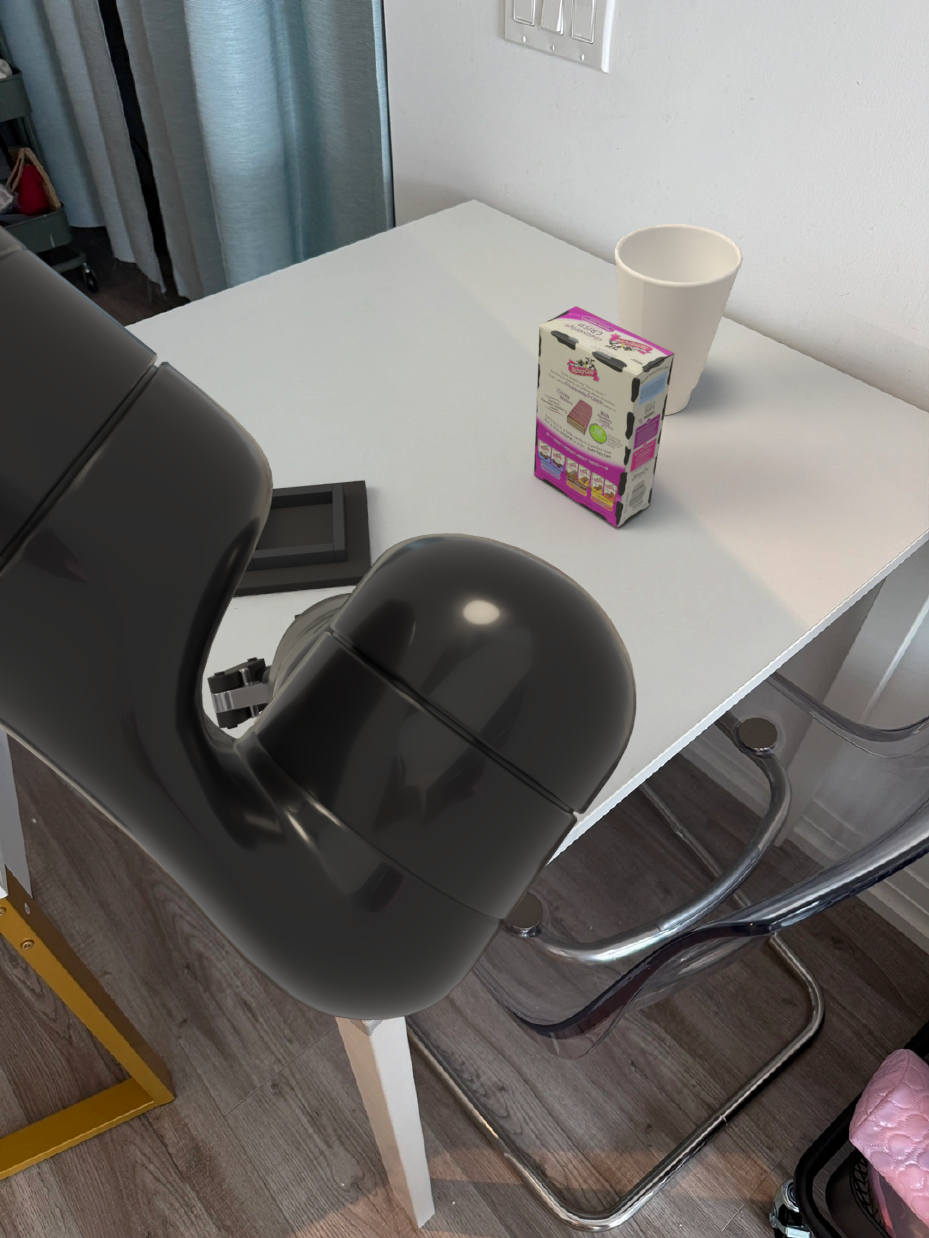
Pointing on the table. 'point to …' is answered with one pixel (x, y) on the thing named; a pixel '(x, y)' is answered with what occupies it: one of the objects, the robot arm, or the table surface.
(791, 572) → the table surface
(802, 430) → the table surface
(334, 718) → the robot arm
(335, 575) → the base pad
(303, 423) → the table surface
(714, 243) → the cup
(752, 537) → the table surface
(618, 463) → the candy bar box
